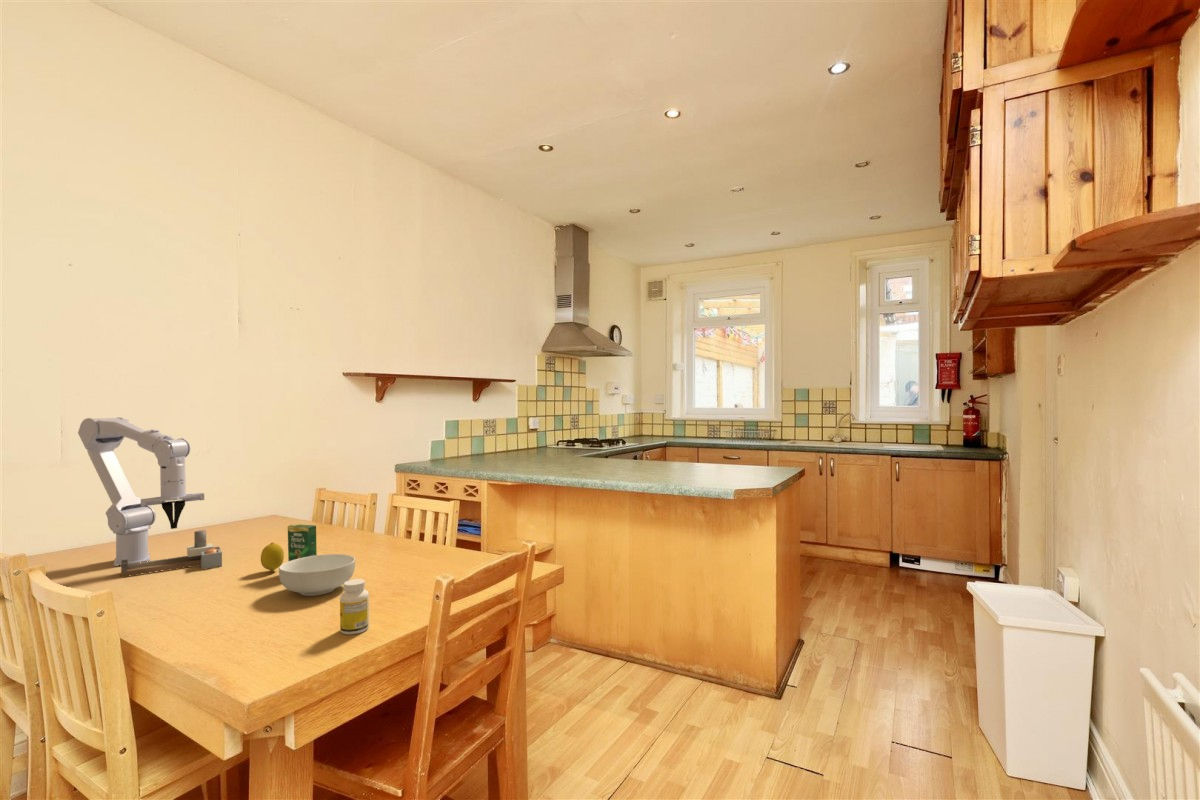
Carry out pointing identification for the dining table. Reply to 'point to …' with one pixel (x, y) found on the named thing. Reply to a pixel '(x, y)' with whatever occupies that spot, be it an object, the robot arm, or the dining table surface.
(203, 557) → the box
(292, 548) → the coffee box
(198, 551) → the carriage
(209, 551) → the orange cylindrical peg
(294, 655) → the dining table surface
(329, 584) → the cereal bowl
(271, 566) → the lemon
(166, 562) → the rail board
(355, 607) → the supplement bottle
